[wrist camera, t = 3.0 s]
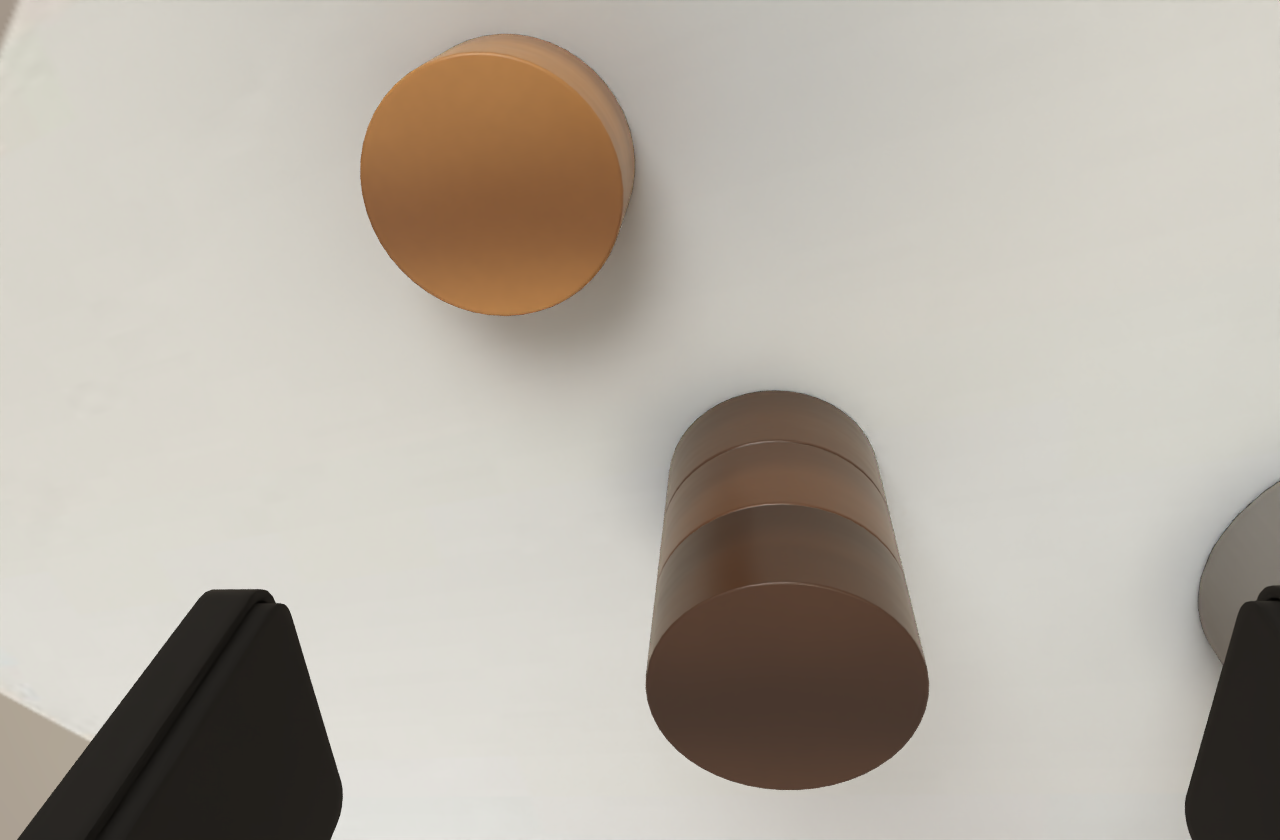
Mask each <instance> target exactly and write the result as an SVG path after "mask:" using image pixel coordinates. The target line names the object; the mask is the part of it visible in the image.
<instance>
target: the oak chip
mask: <svg viewBox="0 0 1280 840" xmlns="http://www.w3.org/2000/svg"><path fill="white" fill-rule="evenodd" d="M634 174H635V158H634V149H633V142H632V138H631V134H630V130H629V126H628V124H627V121H626V118H625V116H624V113H623V111H622V109H621V107H620V105H619V104H618V102H617V100H616V98H615V96H614V95H613V93H612V92H611V91H610V89H609V88H608V86H607V85H606V84H605V82H604V81H603V80H602V79H601V78H600V77H599V76H598V75H597V74H596V73H595V72H594V70H592V69H591V68H590V67H589V66H588V65H586V64H585V63H584V62H583V61H582V60H581V59H579V58H578V57H576V56H574V55H573V54H571V53H570V52H568V51H567V50H565V49H563V48H561V47H559V46H556V45H554V44H552V43H550V42H547V41H544V40H541V39H538V38H534V37H529V36H523V35H515V34H497V35H488V36H482V37H478V38H475V39H471V40H468V41H465V42H463V43H461V44H458V45H456V46H454V47H452V48H450V49H449V50H447V51H445V52H444V53H442V54H440V55H438V56H437V57H435V58H433V59H431V60H430V61H428V62H426V63H424V64H423V65H421V66H420V67H418V68H416V69H415V70H413V71H411V72H410V73H408V74H407V75H406V76H405V77H403V78H402V79H401V80H400V81H399V82H397V83H396V84H395V85H394V86H393V87H392V89H391V90H390V91H389V92H388V93H387V94H386V96H385V97H384V98H383V100H382V101H381V103H380V104H379V106H378V107H377V109H376V110H375V112H374V114H373V117H372V119H371V121H370V123H369V125H368V128H367V131H366V135H365V138H364V142H363V147H362V154H361V167H360V179H361V187H362V195H363V199H364V203H365V207H366V211H367V214H368V217H369V219H370V222H371V225H372V227H373V229H374V231H375V233H376V235H377V237H378V239H379V241H380V243H381V244H382V246H383V247H384V249H385V250H386V252H387V253H388V255H389V256H390V258H391V259H392V260H393V261H394V262H395V263H396V265H397V266H398V267H399V268H400V269H401V270H402V271H403V272H404V273H405V274H406V275H407V276H408V277H409V278H410V279H411V280H412V281H413V282H414V283H416V284H417V285H419V286H420V287H421V288H423V289H424V290H425V291H427V292H428V293H430V294H432V295H433V296H435V297H437V298H438V299H440V300H442V301H444V302H446V303H449V304H451V305H453V306H456V307H458V308H461V309H465V310H468V311H471V312H475V313H481V314H487V315H499V316H511V315H523V314H528V313H533V312H538V311H541V310H544V309H547V308H550V307H553V306H555V305H557V304H559V303H561V302H563V301H565V300H567V299H568V298H570V297H571V296H573V295H574V294H576V293H577V292H579V291H580V290H581V289H582V288H583V287H584V286H585V285H587V284H588V283H589V282H590V281H591V280H592V279H593V278H594V276H595V275H596V274H597V273H598V272H599V270H600V269H601V268H602V266H603V265H604V263H605V261H606V260H607V258H608V257H609V255H610V253H611V251H612V249H613V246H614V244H615V242H616V240H617V237H618V234H619V231H620V228H621V225H622V222H623V219H624V216H625V213H626V210H627V207H628V204H629V200H630V197H631V193H632V189H633V182H634Z"/></svg>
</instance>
